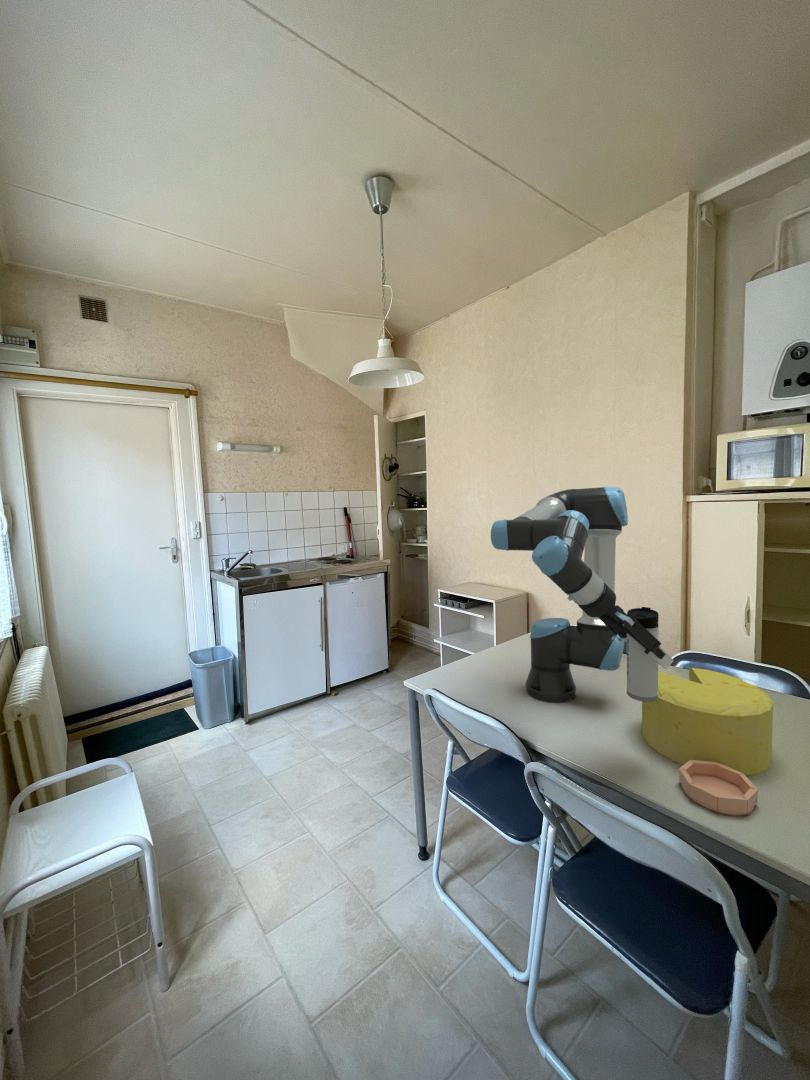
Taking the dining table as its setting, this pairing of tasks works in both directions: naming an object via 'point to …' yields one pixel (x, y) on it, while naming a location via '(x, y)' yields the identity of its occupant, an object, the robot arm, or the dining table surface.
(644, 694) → the travel mug
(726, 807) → the bowl
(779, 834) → the dining table surface
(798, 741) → the dining table surface
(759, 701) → the cheese
